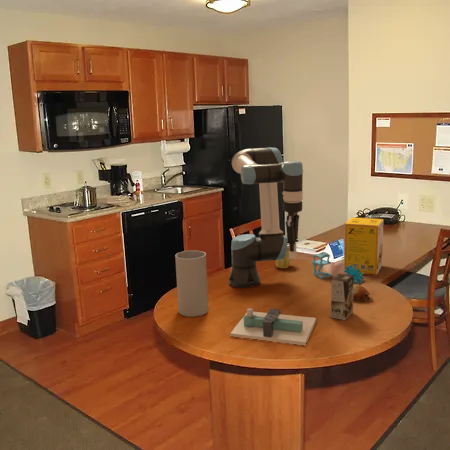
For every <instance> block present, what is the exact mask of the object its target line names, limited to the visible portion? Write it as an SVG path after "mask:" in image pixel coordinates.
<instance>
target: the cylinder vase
mask: <svg viewBox="0 0 450 450" xmlns="http://www.w3.org/2000/svg"><path fill="white" fill-rule="evenodd" d="M206 254H207V253H206V252H205V251H201V250H184V251H183V250H182V251H181V252H177V253H176V254H175V255H174V257H175V272H176V273H175V275H176V276H175V277H176V288H177V290H176V291H177V307H178V308H177V309H178V314H180V315H181V316H183V317H189V318H195V316H197V317H201V316H204V315H205V314H206V313H208V312H209V296H208V271H207V270H208V269H207V255H206Z"/></svg>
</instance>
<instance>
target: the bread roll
mask: <svg viewBox="0 0 450 450" xmlns="http://www.w3.org/2000/svg"><path fill="white" fill-rule="evenodd" d="M370 295H371V293H370V291H369V290H368V289H366V287H364V286H363V285H361V284H360V283H359V284H356V283H354V284H353V303H354V302H356V303H363V302H367V301H369V299H370Z"/></svg>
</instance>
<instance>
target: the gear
mask: <svg viewBox="0 0 450 450" xmlns="http://www.w3.org/2000/svg"><path fill="white" fill-rule="evenodd" d="M349 268H350V269H349ZM355 269H356V266H354V267H353V269H352V265H350V266H349V267H348V266H347V267H346V270H345V271H344V273H345V274H347V275H354V283H353V284H359V285H360V284H361V283H363V280H364V276H363V275H364V272H362V273H359V271H360V269H357V270H355Z"/></svg>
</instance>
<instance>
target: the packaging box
mask: <svg viewBox="0 0 450 450" xmlns="http://www.w3.org/2000/svg"><path fill="white" fill-rule="evenodd" d="M343 241H344V242H343V244H344V246H343V272H345V270H346V267H347V266H348V267H349V266H350V265H352V269H353V267H354V266H356V269H355V270H357V269H360V271H359V273H362V272H364V274H365V275H374V276H377V275H378V273H379V272H380V271H381V270H380V269H381V268H382V266H383V250H384V249H383V245H384V219H383V218H371V217H370V218H367V217H354V216H353V217H350V218H349V219H348V220H347V221H346V222H345V223H344V239H343ZM349 269H350V268H349ZM364 274H363V275H364Z"/></svg>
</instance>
